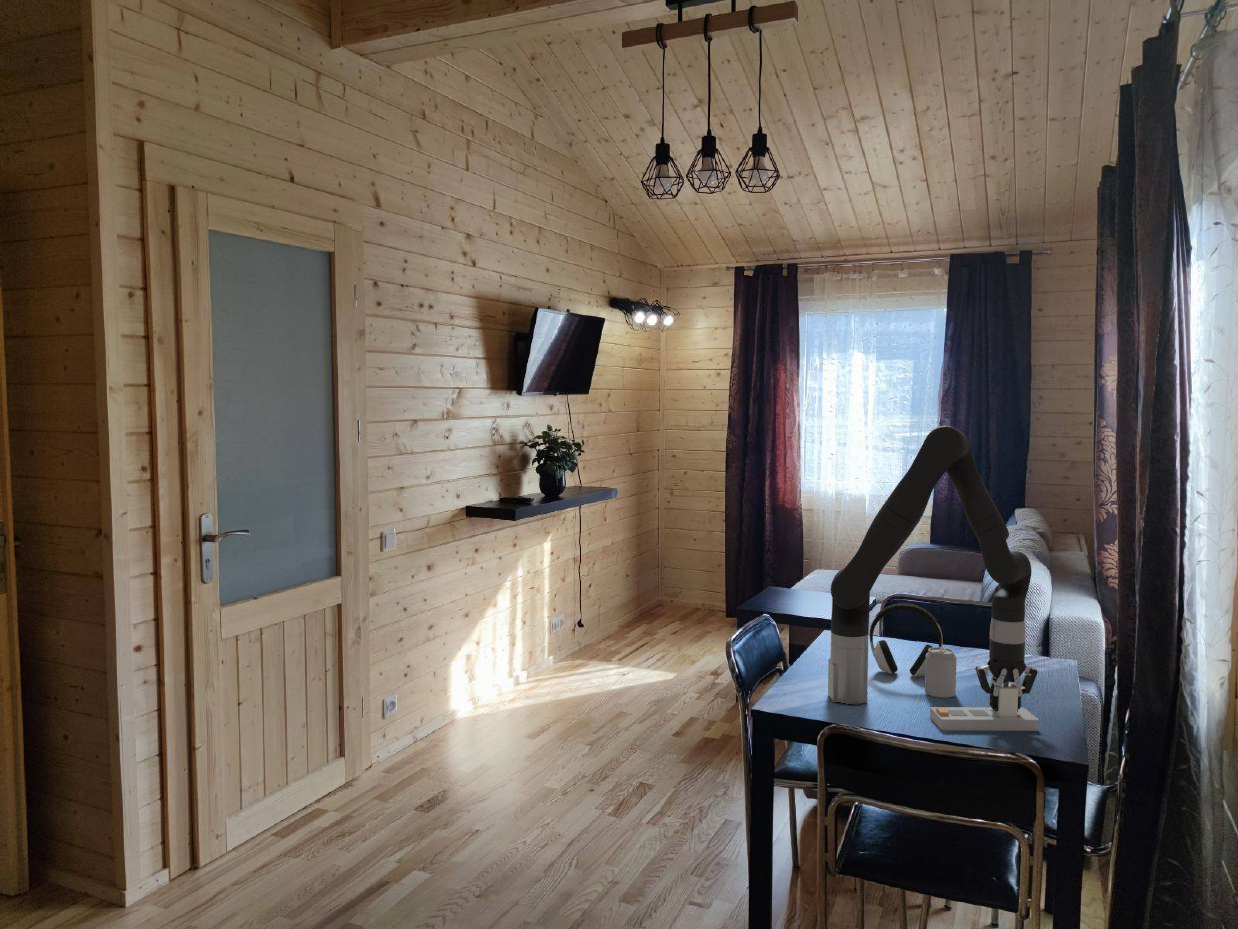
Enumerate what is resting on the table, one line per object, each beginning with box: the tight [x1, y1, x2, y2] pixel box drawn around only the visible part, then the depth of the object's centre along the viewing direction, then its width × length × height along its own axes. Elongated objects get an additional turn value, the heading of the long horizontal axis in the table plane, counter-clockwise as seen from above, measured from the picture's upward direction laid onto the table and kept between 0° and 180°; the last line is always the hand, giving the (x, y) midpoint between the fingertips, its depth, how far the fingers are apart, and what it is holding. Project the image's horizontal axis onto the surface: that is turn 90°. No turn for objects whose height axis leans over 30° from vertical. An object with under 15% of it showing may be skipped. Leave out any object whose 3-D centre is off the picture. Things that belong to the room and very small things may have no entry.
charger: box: [993, 681, 1018, 718], centre depth 208 cm, size 4×4×11 cm
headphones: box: [868, 602, 944, 678], centre depth 246 cm, size 19×8×20 cm, turn 68°
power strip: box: [929, 706, 1040, 732], centre depth 209 cm, size 22×8×4 cm, turn 89°
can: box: [924, 646, 957, 699], centre depth 229 cm, size 8×8×12 cm
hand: (1005, 710), depth 208 cm, fingers closed on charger, 4 cm apart
